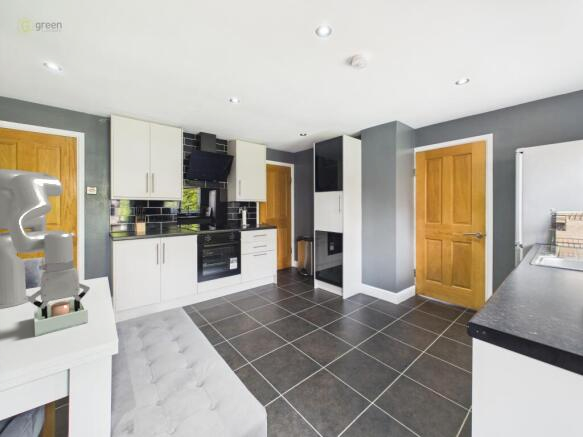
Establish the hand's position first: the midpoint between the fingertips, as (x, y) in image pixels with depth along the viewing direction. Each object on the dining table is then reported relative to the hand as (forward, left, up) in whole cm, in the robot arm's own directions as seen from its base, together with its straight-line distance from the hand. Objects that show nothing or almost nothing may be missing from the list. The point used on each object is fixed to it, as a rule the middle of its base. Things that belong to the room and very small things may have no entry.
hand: (61, 313), depth 89 cm
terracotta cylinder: (0, 0, -3) cm, 3 cm away
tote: (-3, +2, -4) cm, 6 cm away
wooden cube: (-7, +4, -3) cm, 9 cm away
